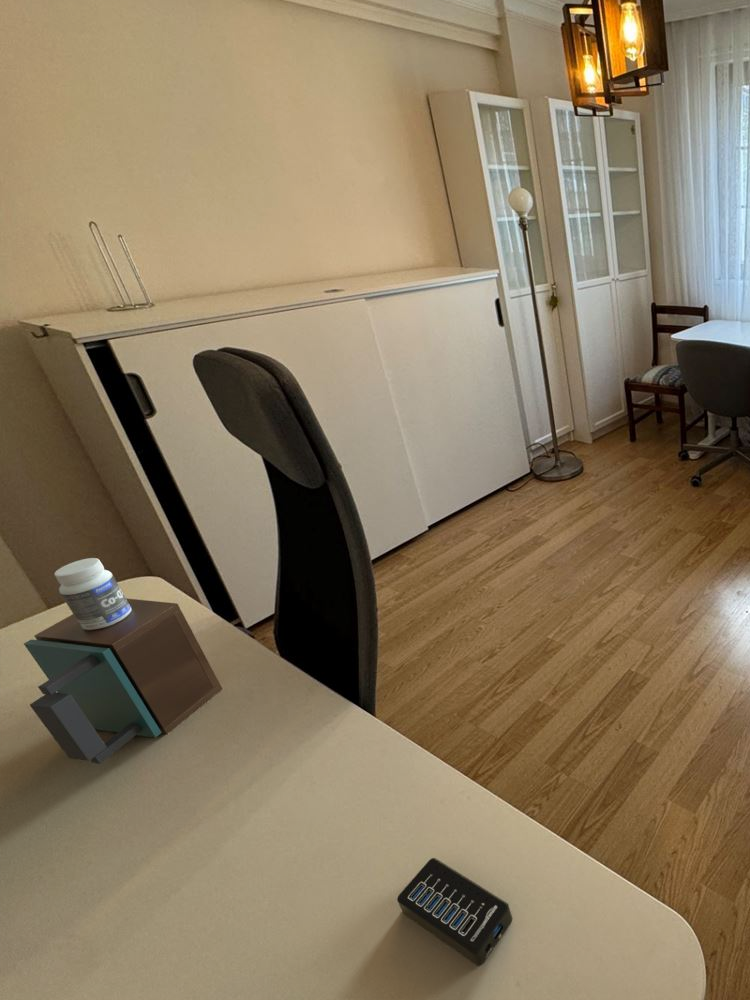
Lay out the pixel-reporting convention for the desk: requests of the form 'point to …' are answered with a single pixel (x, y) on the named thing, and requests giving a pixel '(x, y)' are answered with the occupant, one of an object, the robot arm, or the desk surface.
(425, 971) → the desk surface
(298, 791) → the desk surface
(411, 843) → the desk surface
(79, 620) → the pill bottle
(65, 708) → the door
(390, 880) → the desk surface
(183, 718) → the cabinet
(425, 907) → the multiport hub
